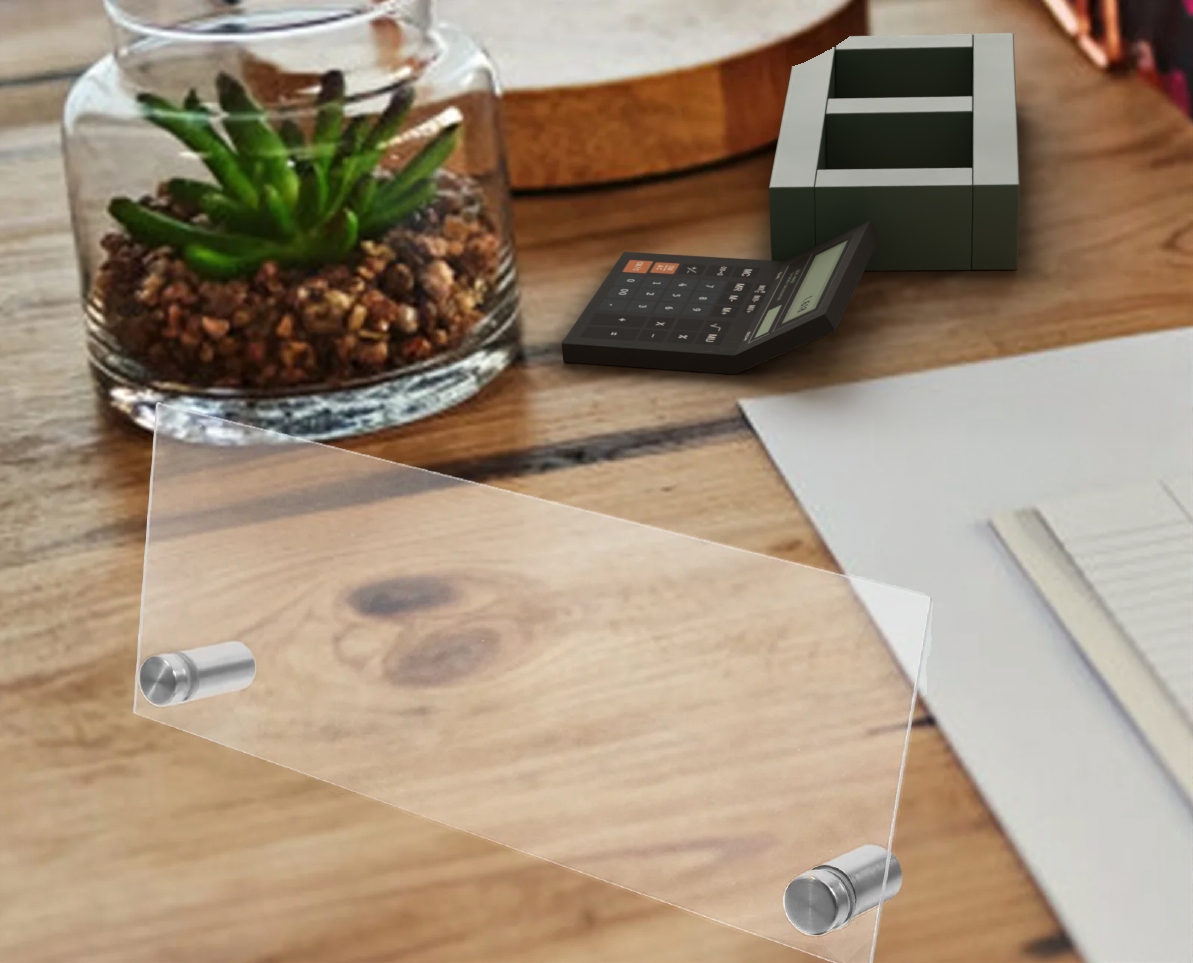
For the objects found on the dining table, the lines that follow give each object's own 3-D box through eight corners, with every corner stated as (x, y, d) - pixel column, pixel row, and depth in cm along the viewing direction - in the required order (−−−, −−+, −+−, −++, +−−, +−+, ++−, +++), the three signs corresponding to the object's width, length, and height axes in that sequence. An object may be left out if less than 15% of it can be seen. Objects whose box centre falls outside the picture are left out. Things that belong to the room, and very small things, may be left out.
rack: (1011, 108, 119) (1013, 32, 117) (1017, 270, 102) (1019, 184, 100) (799, 112, 120) (797, 36, 118) (771, 271, 104) (768, 187, 102)
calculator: (624, 269, 105) (620, 207, 104) (880, 284, 102) (879, 220, 100) (563, 361, 98) (557, 296, 96) (836, 381, 95) (835, 314, 93)
